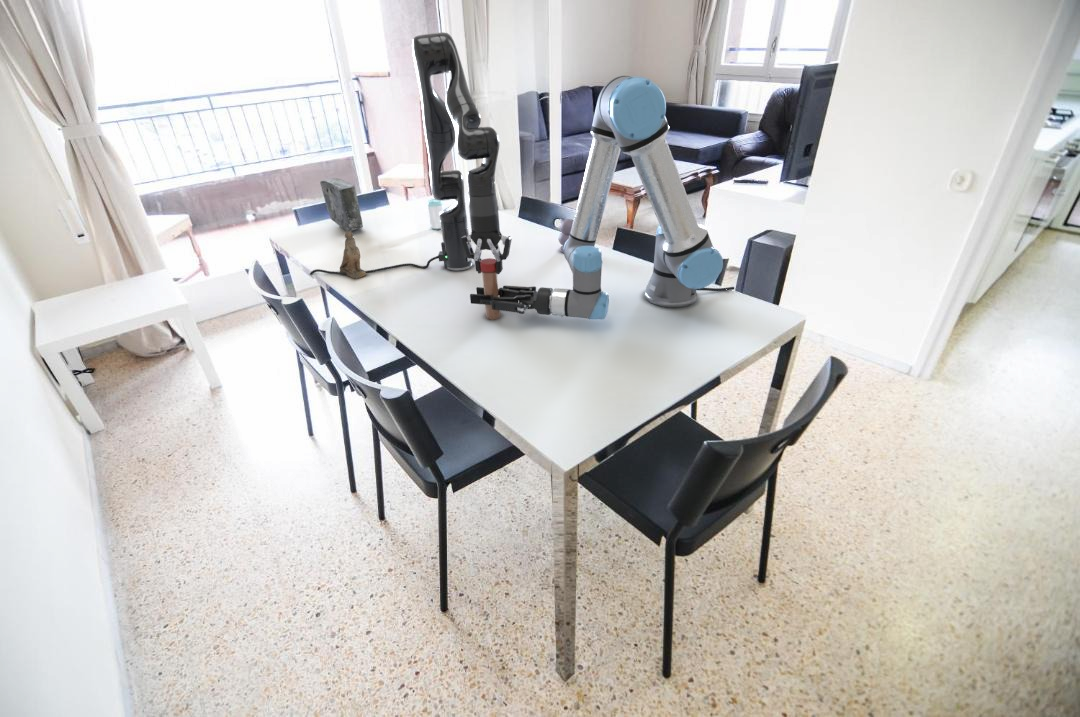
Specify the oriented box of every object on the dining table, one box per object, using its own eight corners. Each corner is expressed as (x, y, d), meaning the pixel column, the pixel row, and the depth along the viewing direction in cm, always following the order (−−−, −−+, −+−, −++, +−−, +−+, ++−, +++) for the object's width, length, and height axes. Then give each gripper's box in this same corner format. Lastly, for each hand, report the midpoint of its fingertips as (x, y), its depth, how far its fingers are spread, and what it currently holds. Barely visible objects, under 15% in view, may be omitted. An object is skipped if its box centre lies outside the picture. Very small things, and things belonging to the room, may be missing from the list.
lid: (487, 265, 141) (486, 257, 139) (501, 267, 139) (500, 259, 137) (477, 270, 137) (476, 262, 136) (491, 273, 135) (490, 265, 134)
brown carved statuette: (368, 281, 178) (362, 235, 166) (353, 285, 175) (347, 238, 163) (352, 266, 184) (346, 221, 172) (338, 270, 181) (331, 224, 169)
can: (445, 229, 220) (441, 202, 214) (429, 230, 220) (425, 202, 214) (447, 224, 226) (444, 198, 220) (432, 225, 226) (428, 198, 220)
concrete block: (368, 232, 220) (358, 186, 209) (348, 237, 216) (336, 189, 205) (349, 220, 239) (338, 176, 228) (330, 223, 234) (319, 179, 224)
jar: (502, 314, 146) (498, 262, 138) (495, 320, 143) (490, 267, 135) (491, 312, 148) (486, 260, 139) (483, 317, 145) (478, 265, 136)
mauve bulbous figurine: (584, 250, 191) (584, 219, 185) (571, 255, 186) (571, 223, 180) (567, 245, 196) (567, 215, 190) (554, 251, 191) (553, 220, 185)
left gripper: (453, 214, 128) (460, 277, 137) (507, 215, 125) (511, 279, 134) (462, 207, 134) (469, 267, 143) (513, 207, 131) (517, 268, 140)
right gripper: (544, 327, 133) (463, 320, 139) (559, 301, 147) (485, 294, 153) (543, 302, 129) (460, 295, 135) (559, 277, 143) (483, 271, 149)
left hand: (489, 272), depth 138 cm, fingers closed on lid, 4 cm apart
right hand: (474, 295), depth 144 cm, fingers closed on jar, 4 cm apart
